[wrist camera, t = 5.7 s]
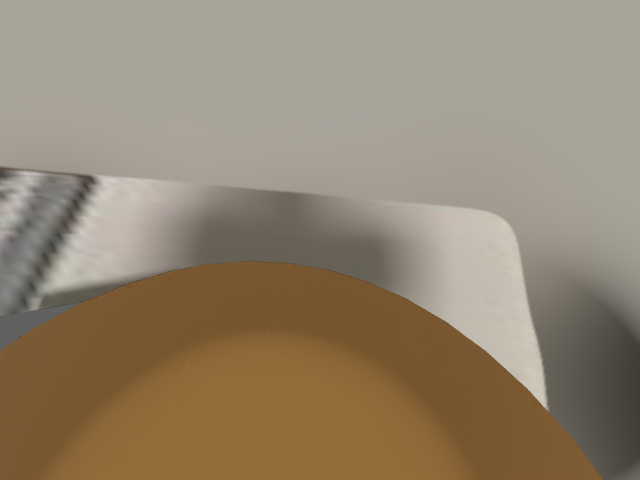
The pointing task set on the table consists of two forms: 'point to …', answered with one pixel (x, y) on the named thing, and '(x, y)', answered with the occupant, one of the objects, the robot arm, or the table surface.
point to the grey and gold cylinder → (267, 388)
